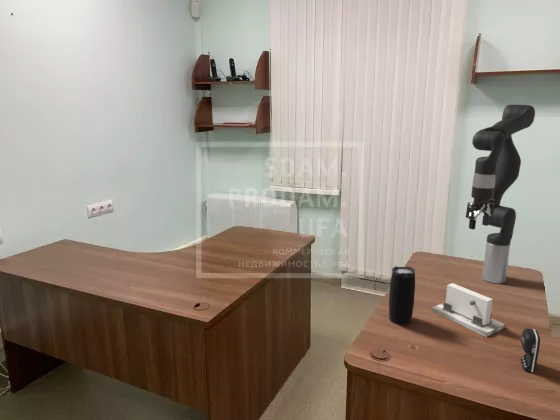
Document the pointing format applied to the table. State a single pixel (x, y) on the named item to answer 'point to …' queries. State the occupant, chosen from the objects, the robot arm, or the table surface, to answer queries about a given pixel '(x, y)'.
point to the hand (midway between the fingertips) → (478, 227)
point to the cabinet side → (468, 320)
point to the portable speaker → (402, 294)
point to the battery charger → (530, 349)
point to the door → (469, 303)
